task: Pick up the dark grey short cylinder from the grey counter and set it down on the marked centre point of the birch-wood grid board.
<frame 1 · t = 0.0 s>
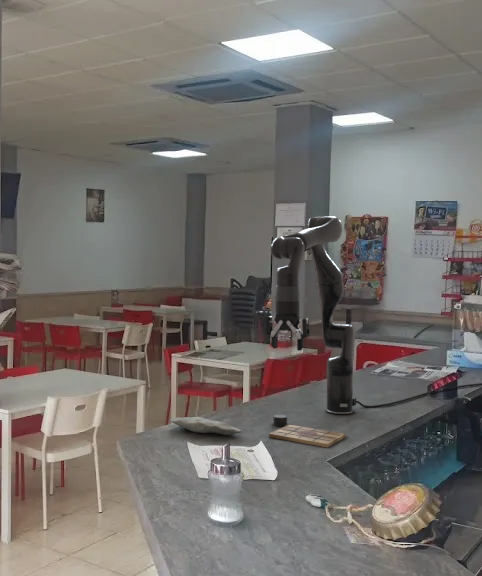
hand: (287, 349, 232), 29 cm above the worktop, tool pointing down, fingers open, 8 cm apart
grid board: (307, 437, 235), on the worktop
dark grey short cylinder: (280, 425, 251), on the worktop
stone tool replica: (207, 433, 242), on the worktop
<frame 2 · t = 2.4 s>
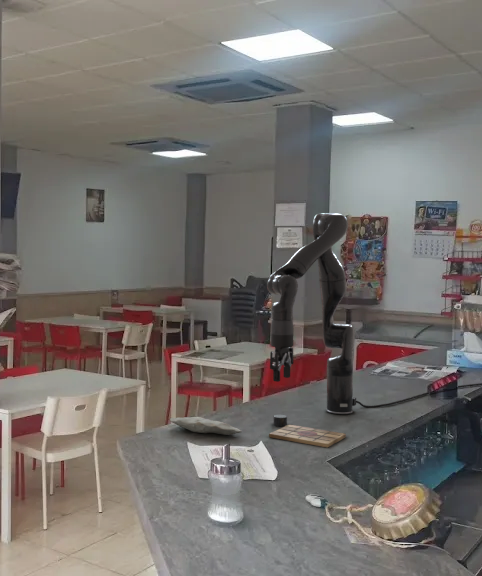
hand: (281, 379, 247), 17 cm above the worktop, tool pointing down, fingers open, 8 cm apart
nothing on the worktop moved.
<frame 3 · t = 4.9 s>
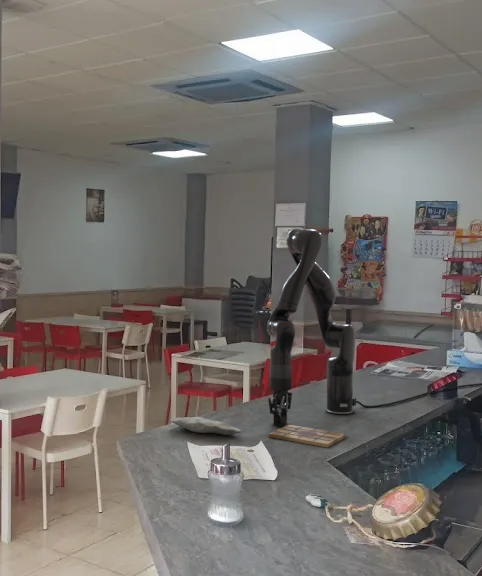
hand: (280, 423, 251), 1 cm above the worktop, tool pointing down, fingers closed on dark grey short cylinder, 4 cm apart
dark grey short cylinder: (280, 425, 251), on the worktop, touching gripper
everything else where it was.
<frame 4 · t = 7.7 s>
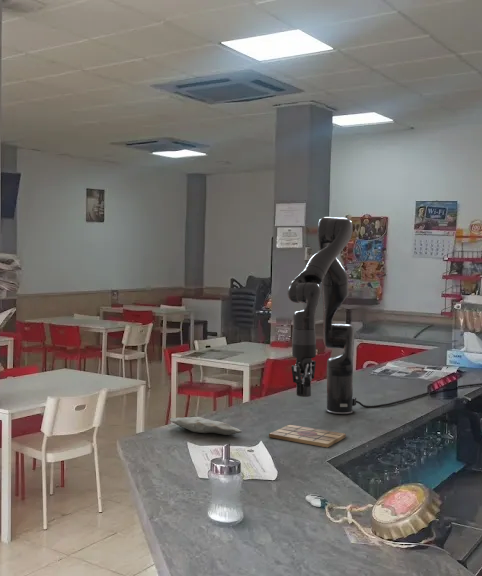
hand: (303, 393, 236), 14 cm above the worktop, tool pointing down, fingers closed on dark grey short cylinder, 4 cm apart
dark grey short cylinder: (303, 395, 236), point 13 cm above the worktop, touching gripper
everything else where it was.
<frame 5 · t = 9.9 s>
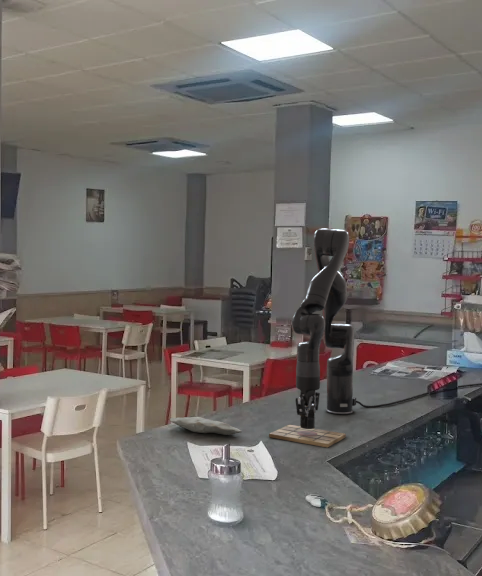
hand: (307, 425, 235), 4 cm above the worktop, tool pointing down, fingers closed on dark grey short cylinder, 4 cm apart
dark grey short cylinder: (307, 427, 235), point 3 cm above the worktop, touching gripper
everything else where it was.
when the fingers open (2 cm above the worktop, at t = 11.0 s): dark grey short cylinder stays where it is, resting on grid board.
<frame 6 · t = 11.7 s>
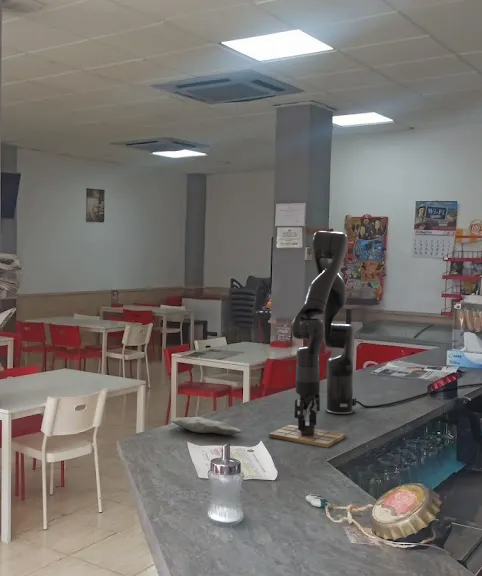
hand: (307, 427, 235), 3 cm above the worktop, tool pointing down, fingers open, 8 cm apart
dark grey short cylinder: (307, 433, 235), point 1 cm above the worktop, touching grid board
everything else where it was.
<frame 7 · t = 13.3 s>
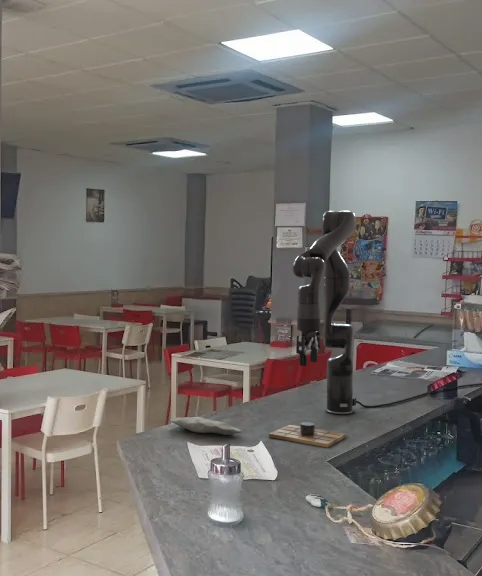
hand: (308, 363, 243), 23 cm above the worktop, tool pointing down, fingers open, 8 cm apart
nothing on the worktop moved.
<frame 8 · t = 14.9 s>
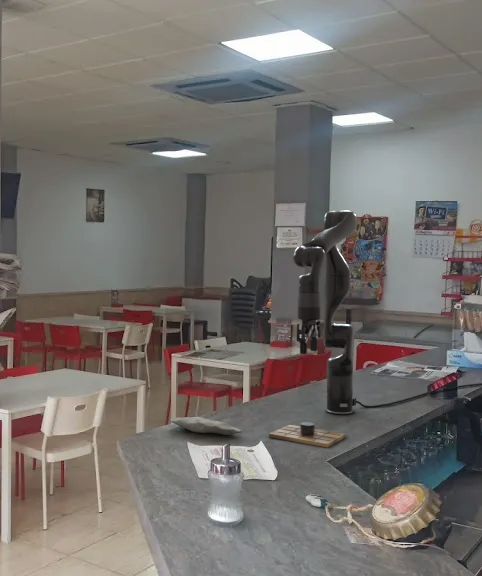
hand: (308, 352, 246), 26 cm above the worktop, tool pointing down, fingers open, 8 cm apart
nothing on the worktop moved.
at the end: dark grey short cylinder 0.1 cm off-centre on the grid board, point 1.3 cm above the grid board's base; dark grey short cylinder tilted 0°; the gripper is holding nothing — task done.
